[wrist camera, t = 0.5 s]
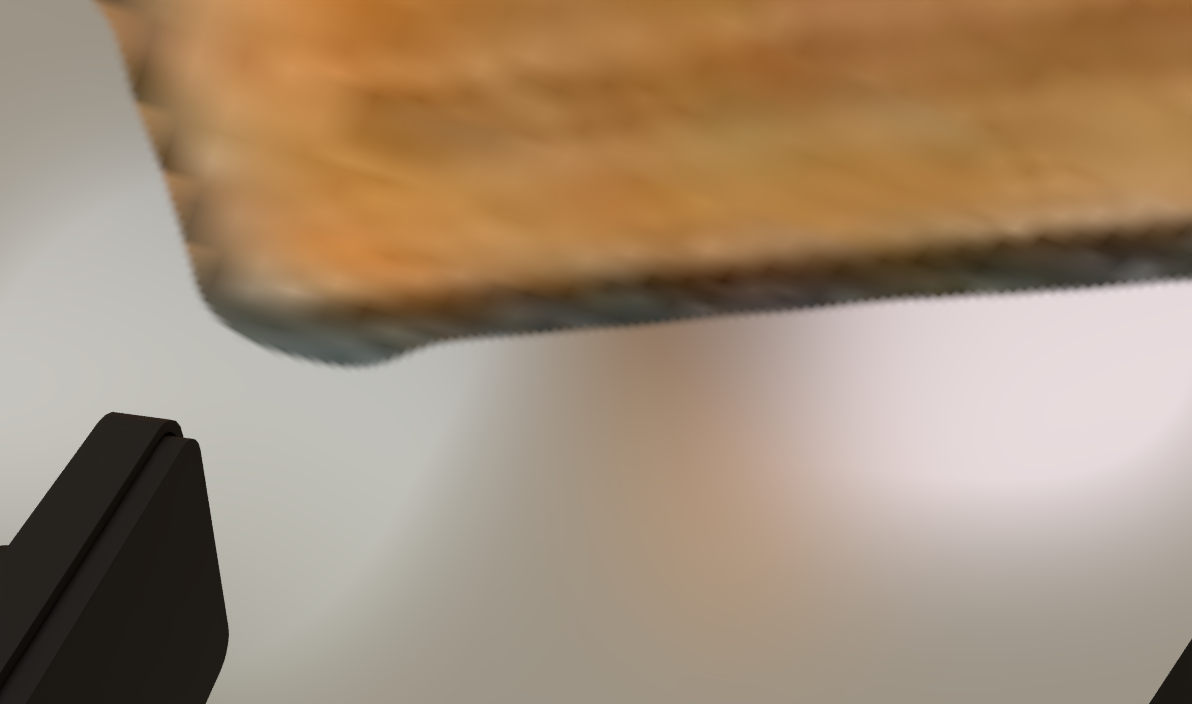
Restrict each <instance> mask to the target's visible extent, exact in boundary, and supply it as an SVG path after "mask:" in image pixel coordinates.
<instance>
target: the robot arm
mask: <svg viewBox="0 0 1192 704" xmlns="http://www.w3.org/2000/svg"><path fill="white" fill-rule="evenodd" d="M228 638H229V630H228V622H227V616H226V609H225V603H224V596H223V590H222V584H221V577H220V572H219V565H218V558H217V552H216V546H215V540H214V533H213V526H212V520H211V514H210V507H209V501H208V495H207V488H206V482H205V476H204V470H203V463H202V457H201V450H200V447H199V444H198V442H197V441H196V440H195V439H189V438H183V434H182V431H181V427H180V426H179V424H178V423H177V422H176V421H173V420H168V419H161V418H154V417H146V416H138V415H131V414H123V413H116V412H111V413H109V414H107V415H105V416H104V417H103V418H102V419H101V420H100V421H99V422H98V423H97V425H96V426H95V427H94V429H93V430H92V432H91V433H90V434H89V436H88V437H87V438H86V440H85V441H84V443H83V444H82V446H81V447H80V448H79V449H78V451H77V453H76V454H75V455H74V457H73V458H72V459H71V460H70V462H69V463H68V465H67V466H66V467H65V469H64V470H63V471H62V473H61V474H60V476H59V477H58V478H57V480H56V481H55V482H54V484H53V485H52V487H51V488H50V489H49V491H48V492H47V493H46V495H45V496H44V498H43V499H42V500H41V502H40V503H39V504H38V506H37V507H36V508H35V510H34V511H33V513H32V514H31V515H30V517H29V518H28V520H27V521H26V522H25V524H24V525H23V526H22V528H21V529H20V530H19V532H18V533H17V535H16V536H15V537H14V539H13V540H12V542H11V543H10V544H9V545H2V546H0V704H206V702H207V699H208V697H209V695H210V693H211V690H212V688H213V686H214V684H215V682H216V680H217V677H218V675H219V673H220V671H221V668H222V665H223V663H224V660H225V656H226V651H227V646H228ZM1149 704H1192V640H1191V641H1190V643H1189V644H1188V646H1187V647H1186V649H1185V650H1184V652H1183V653H1182V655H1181V656H1180V658H1179V659H1178V661H1177V662H1176V664H1175V665H1174V667H1173V668H1172V670H1171V671H1170V673H1169V674H1168V676H1167V677H1166V679H1165V681H1164V682H1163V684H1162V685H1161V687H1160V688H1159V690H1158V691H1157V693H1156V694H1155V696H1154V697H1153V699H1152V700H1151V702H1150V703H1149Z"/></svg>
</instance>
